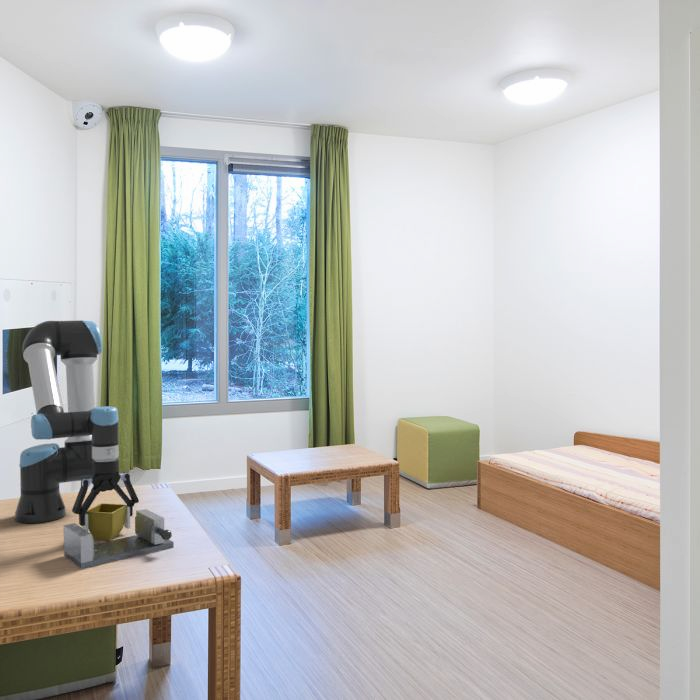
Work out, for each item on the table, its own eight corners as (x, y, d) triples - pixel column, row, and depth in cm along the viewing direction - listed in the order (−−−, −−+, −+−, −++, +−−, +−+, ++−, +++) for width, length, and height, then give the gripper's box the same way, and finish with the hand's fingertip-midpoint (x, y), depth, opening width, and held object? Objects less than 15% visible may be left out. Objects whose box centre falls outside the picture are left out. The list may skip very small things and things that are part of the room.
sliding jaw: (134, 535, 201) (134, 511, 201) (146, 532, 204) (145, 509, 204) (161, 550, 188) (161, 525, 188) (174, 547, 190) (173, 522, 190)
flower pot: (112, 543, 200) (111, 512, 199) (84, 541, 201) (84, 511, 201) (127, 534, 208) (127, 504, 208) (101, 532, 210) (101, 503, 210)
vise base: (64, 556, 189) (63, 525, 189) (153, 536, 206) (153, 508, 206) (81, 568, 179) (80, 536, 179) (173, 547, 196) (173, 517, 196)
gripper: (68, 467, 193) (69, 543, 194) (149, 455, 209) (150, 526, 210) (59, 462, 199) (60, 537, 200) (139, 452, 214) (140, 521, 215)
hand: (106, 531), depth 205 cm, fingers closed on flower pot, 12 cm apart
